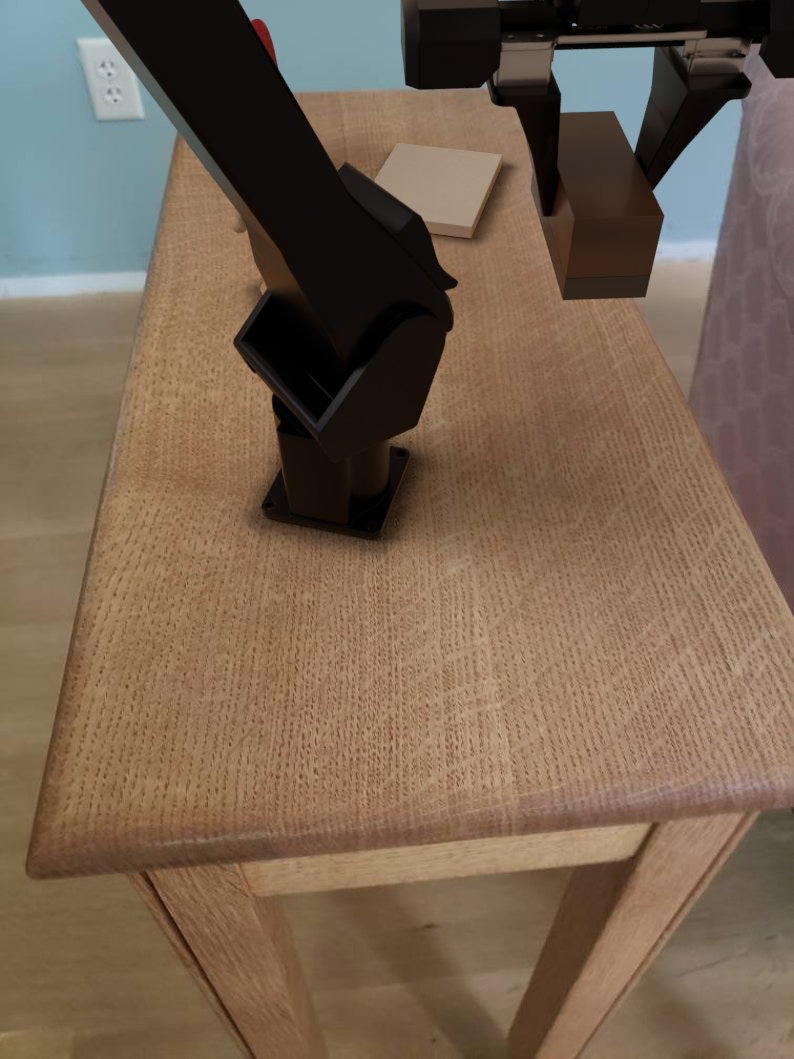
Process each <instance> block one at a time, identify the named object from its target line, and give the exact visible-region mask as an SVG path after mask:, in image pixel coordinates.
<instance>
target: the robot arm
mask: <svg viewBox="0 0 794 1059" xmlns="http://www.w3.org/2000/svg"><path fill="white" fill-rule="evenodd" d="M79 1H80V2H81V4H82V5H83V6H84V8H85V9H86V11H87V12H88V13H89V14H90V16H91V17H92V19H93V20H94V21H95V22H96V24H97V25H98V26H99V28H100V29H101V30H102V32H103V33H104V34H105V36H106V37H107V38H108V40H109V41H110V43H111V44H112V45H113V46H114V48H115V49H116V50H117V52H118V53H119V55H120V56H121V57H122V58H123V60H124V61H125V63H126V64H127V66H129V68H130V69H131V71H132V72H133V73H134V75H135V77H137V79H138V80H139V81H140V83H141V84H142V85H143V87H144V88H145V90H146V91H147V93H148V94H150V96H151V98H152V99H153V100H154V102H155V103H156V104H157V105H158V107H159V108H160V110H161V111H162V112H163V114H164V115H165V116H166V118H167V119H168V120H169V122H170V123H171V124H172V126H173V128H175V130H176V131H177V132H178V134H179V135H180V136H181V138H182V139H183V140H184V141H185V143H186V144H187V146H188V147H189V148H190V150H191V151H192V153H193V154H194V155H195V156H196V158H197V159H198V161H199V162H200V163H201V164H202V166H203V168H204V169H205V170H206V171H207V173H208V174H209V175H210V176H211V178H212V179H213V180H214V182H215V183H216V185H217V186H218V187H219V189H220V190H221V191H222V193H223V194H224V195H225V197H226V199H228V201H229V202H230V203H231V204H232V207H234V210H235V209H236V210H237V211H238V213H239V214H240V216H241V217H242V219H243V221H244V223H245V226H246V228H247V230H246V231H247V236H248V240H249V244H250V249H251V252H252V257H253V261H254V264H255V265H256V267H257V270H258V272H259V273H260V276H261V279H262V278H263V280H264V281H263V280H262V281H263V282H265V284H266V286H267V289H266V291H265V292H264V294H263V295H262V294H261V297H260V298H259V300H258V301H257V303H256V304H255V306H254V307H253V309H252V311H251V312H250V314H249V315H248V316H247V318H246V320H245V321H244V323H243V324H242V326H241V327H240V329H239V331H238V332H237V333H236V335H235V336H234V337H233V341H232V344H233V347H234V349H235V350H236V351H237V353H238V354H239V356H240V357H241V359H242V360H243V362H244V363H245V364H246V366H247V367H248V369H249V370H250V371H251V372H252V373H253V374H255V375H257V376H258V378H259V379H260V380H261V381H262V382H263V383H264V384H265V385H266V386H267V387H268V388H269V390H270V391H271V392H272V395H271V408H272V414H273V420H274V426H275V433H276V440H277V447H278V453H279V459H280V466H281V467H280V469H279V470H278V472H277V474H276V476H275V478H274V480H273V482H272V484H271V486H270V487H269V490H268V492H267V493H266V495H265V497H264V499H263V501H262V503H261V505H260V507H261V513H262V515H263V516H264V517H266V518H267V519H273V520H277V521H283V522H288V523H293V524H296V525H302V526H307V527H312V528H316V529H321V530H327V531H330V532H331V531H332V532H336V533H341V534H346V535H351V536H356V537H359V538H360V537H361V538H366V539H372V540H373V539H377V538H379V537H381V535H382V534H383V531H384V529H385V526H386V524H387V521H388V518H389V516H390V513H391V511H392V508H393V506H394V503H395V501H396V497H397V495H398V493H399V490H400V487H401V485H402V482H403V480H404V476H405V475H406V471H407V469H408V467H409V464H410V461H411V453H410V451H409V450H408V449H406V448H404V447H400V446H393V445H391V439H393V438H396V437H397V436H400V435H401V434H404V433H406V432H408V431H411V430H413V429H415V428H416V427H417V426H418V424H419V422H420V419H421V417H422V414H423V411H424V407H425V406H426V402H427V400H428V397H429V394H430V391H431V388H432V386H433V382H434V379H435V377H436V374H437V371H438V368H439V365H440V362H441V360H442V357H443V353H444V351H445V347H446V344H447V342H446V340H447V335H448V333H450V332H452V331H453V329H454V326H455V312H454V308H453V304H452V302H451V298H450V296H449V295H448V294H447V292H446V291H450V290H453V289H455V288H457V286H459V281H458V279H457V278H455V277H454V276H453V275H452V274H450V273H449V272H447V271H446V270H445V269H444V268H443V266H442V265H441V264H440V262H439V259H438V257H437V254H436V249H435V246H434V241H433V238H432V236H431V233H429V230H428V229H427V227H426V225H425V223H424V221H423V219H422V217H421V216H420V215H419V214H418V213H416V212H415V211H414V210H412V209H411V208H410V207H408V206H407V205H405V204H404V203H403V202H401V201H400V200H399V199H397V198H396V197H394V196H393V195H392V194H390V193H389V192H388V191H386V190H385V189H384V188H382V187H381V186H379V185H378V184H377V183H375V182H374V180H373V179H371V178H370V177H369V176H367V175H366V174H364V173H363V172H362V171H361V170H359V169H358V168H356V167H355V166H354V165H352V164H351V163H350V162H348V161H345V162H344V163H343V164H342V165H341V166H340V167H339V169H337V168H336V166H335V164H334V162H333V161H332V159H331V157H330V155H329V154H328V152H327V151H326V149H325V147H324V145H323V143H322V142H321V140H320V138H319V136H318V135H317V133H316V132H315V130H314V127H313V126H312V124H311V123H310V121H309V119H308V118H307V115H306V114H305V113H304V111H303V109H302V107H301V105H300V104H299V102H298V101H297V99H296V97H295V95H294V93H293V91H292V90H291V88H290V87H289V84H288V83H287V81H286V79H285V78H284V76H283V73H281V71H280V69H279V66H278V67H277V66H276V64H275V62H274V61H273V59H272V57H271V55H270V54H269V52H268V50H267V48H266V47H265V45H264V43H263V42H262V40H261V38H260V36H259V35H258V33H257V31H256V29H255V28H254V26H253V24H252V23H251V21H252V20H251V19H250V17H249V16H248V14H247V12H246V11H245V9H244V7H243V5H242V4H241V2H240V0H79ZM399 4H400V48H401V55H402V56H401V57H402V65H403V76H404V85H405V86H406V87H410V88H412V89H415V90H419V91H431V90H433V91H434V90H458V89H460V90H461V89H463V90H464V89H480V88H482V87H483V86H484V85H485V84H486V87H487V90H488V94H489V95H488V96H489V99H490V102H491V103H492V104H493V105H494V106H497V107H501V108H508V107H509V108H514V109H515V111H516V114H517V116H518V120H519V122H520V124H521V128H522V130H523V134H524V136H525V141H526V145H527V151H528V156H529V160H530V165H531V172H532V171H533V175H534V180H535V185H536V190H537V195H538V199H539V204H540V209H541V212H542V215H543V217H550V215H551V211H552V207H553V202H554V198H555V193H556V181H557V164H558V146H559V129H560V113H561V110H562V109H561V108H562V93H561V90H560V88H559V85H558V82H557V80H556V78H555V74H554V72H553V69H552V64H553V62H554V58H555V51H574V50H575V51H576V50H577V51H578V50H603V49H604V50H605V49H606V50H608V49H638V48H639V49H640V48H641V49H642V48H654V50H653V62H652V76H651V87H650V92H649V96H648V99H647V103H646V107H645V110H644V114H643V119H642V122H641V126H640V129H639V134H638V137H637V141H636V144H635V148H634V151H633V152H634V154H635V156H636V158H637V160H638V162H639V164H640V166H641V168H642V170H643V172H644V174H645V177H646V179H647V181H648V183H649V185H650V187H651V189H652V191H653V192H654V190H655V189H656V188H657V187H658V185H659V184H660V183H661V181H662V180H663V179H664V177H665V176H666V174H667V173H668V171H669V170H670V169H671V167H672V166H673V165H674V164H675V162H676V161H677V160H678V158H679V157H680V156H681V154H682V153H683V152H684V150H685V149H686V148H687V147H688V146H689V145H690V144H691V142H693V140H694V139H695V138H696V137H697V136H698V135H699V134H700V133H701V132H702V130H703V129H704V128H705V127H706V126H707V125H708V124H709V123H710V122H711V121H712V120H713V118H714V117H715V116H716V115H717V114H718V113H719V112H720V111H721V110H722V108H723V107H724V106H725V105H726V104H727V103H729V102H730V101H735V100H744V99H746V98H748V97H749V96H750V94H751V90H752V88H753V82H752V81H751V79H749V78H750V77H748V75H746V73H745V72H744V70H743V69H744V65H745V62H746V59H747V57H748V56H749V54H750V50H751V48H752V45H760V47H759V50H758V53H757V54H758V56H759V58H760V59H761V61H762V62H763V64H764V65H765V67H766V69H767V70H768V71H769V73H770V74H771V75H772V76H773V78H774V79H775V80H779V79H784V80H785V79H794V0H400V2H399ZM574 24H575V25H574ZM371 528H372V529H371Z"/></svg>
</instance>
